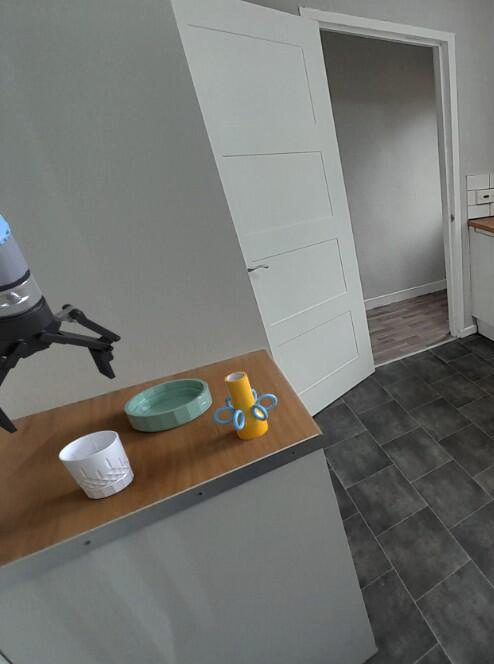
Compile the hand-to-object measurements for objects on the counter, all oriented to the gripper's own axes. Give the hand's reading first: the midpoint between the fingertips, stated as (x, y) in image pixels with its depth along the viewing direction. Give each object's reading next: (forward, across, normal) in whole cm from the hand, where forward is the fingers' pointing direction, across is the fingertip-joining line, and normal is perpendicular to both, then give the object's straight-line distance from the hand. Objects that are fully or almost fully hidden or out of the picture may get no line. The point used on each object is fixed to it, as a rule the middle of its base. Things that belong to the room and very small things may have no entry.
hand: (62, 399), depth 69 cm
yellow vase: (+19, +19, -17) cm, 32 cm away
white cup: (+20, -2, -6) cm, 21 cm away
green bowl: (+27, +17, +5) cm, 33 cm away
